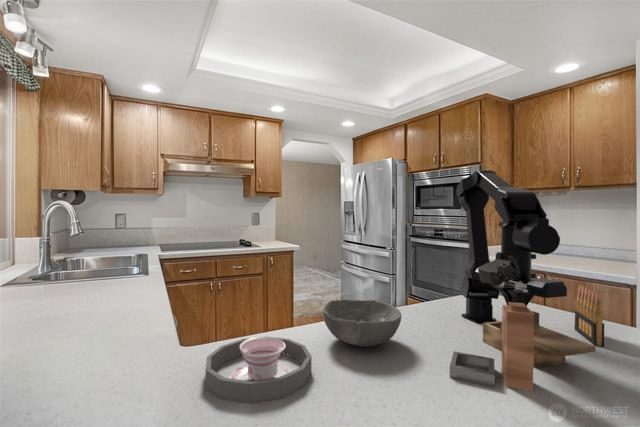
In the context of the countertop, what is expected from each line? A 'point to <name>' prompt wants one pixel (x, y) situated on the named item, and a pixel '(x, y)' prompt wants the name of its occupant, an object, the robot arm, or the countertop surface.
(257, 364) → the teacup
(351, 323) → the bowl
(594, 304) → the ammunition clip
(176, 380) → the countertop surface
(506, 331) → the reddish brown rectangular block
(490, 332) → the light brown wooden box
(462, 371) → the frame
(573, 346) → the lid
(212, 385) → the coaster ring
